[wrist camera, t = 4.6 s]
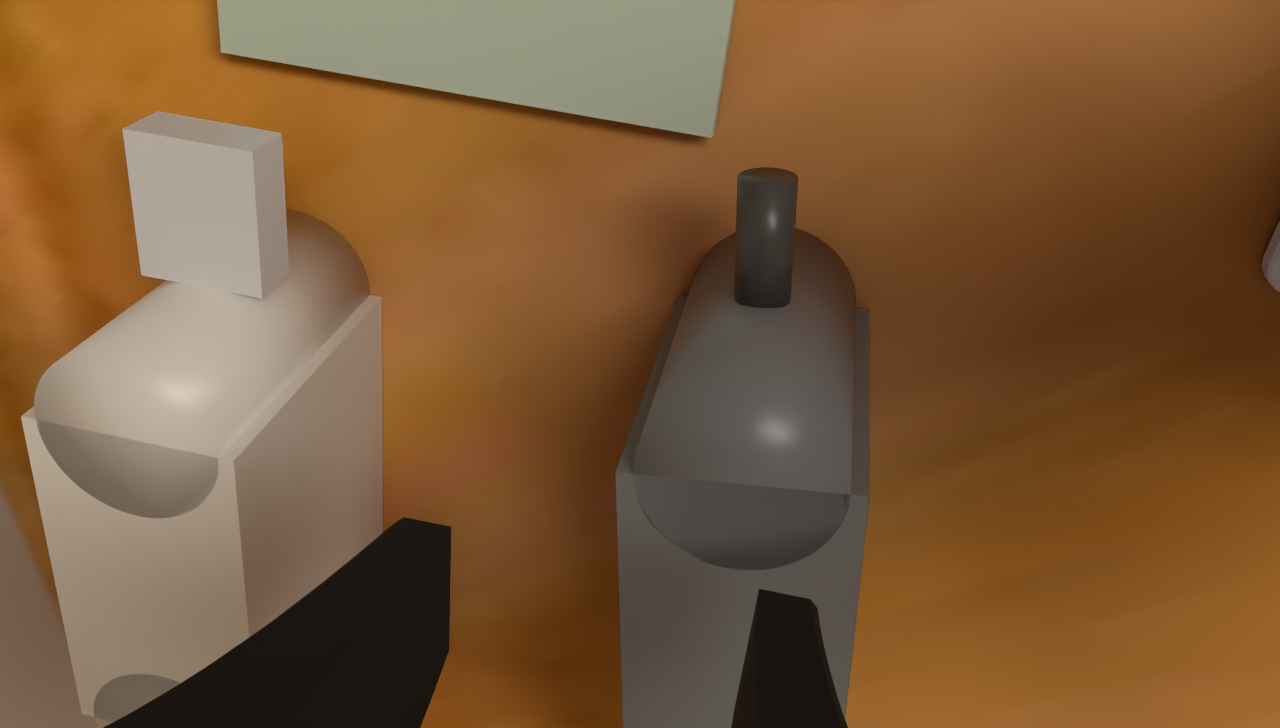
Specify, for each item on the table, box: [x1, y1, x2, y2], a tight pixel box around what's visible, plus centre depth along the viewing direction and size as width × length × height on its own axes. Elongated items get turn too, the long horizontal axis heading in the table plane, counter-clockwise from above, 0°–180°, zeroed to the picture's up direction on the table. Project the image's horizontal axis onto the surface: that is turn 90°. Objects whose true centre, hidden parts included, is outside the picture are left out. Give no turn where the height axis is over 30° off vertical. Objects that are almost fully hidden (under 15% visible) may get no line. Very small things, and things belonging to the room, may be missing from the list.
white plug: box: [21, 111, 383, 728], centre depth 21 cm, size 14×4×6 cm, turn 173°
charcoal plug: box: [616, 168, 869, 728], centre depth 20 cm, size 14×4×6 cm, turn 1°
